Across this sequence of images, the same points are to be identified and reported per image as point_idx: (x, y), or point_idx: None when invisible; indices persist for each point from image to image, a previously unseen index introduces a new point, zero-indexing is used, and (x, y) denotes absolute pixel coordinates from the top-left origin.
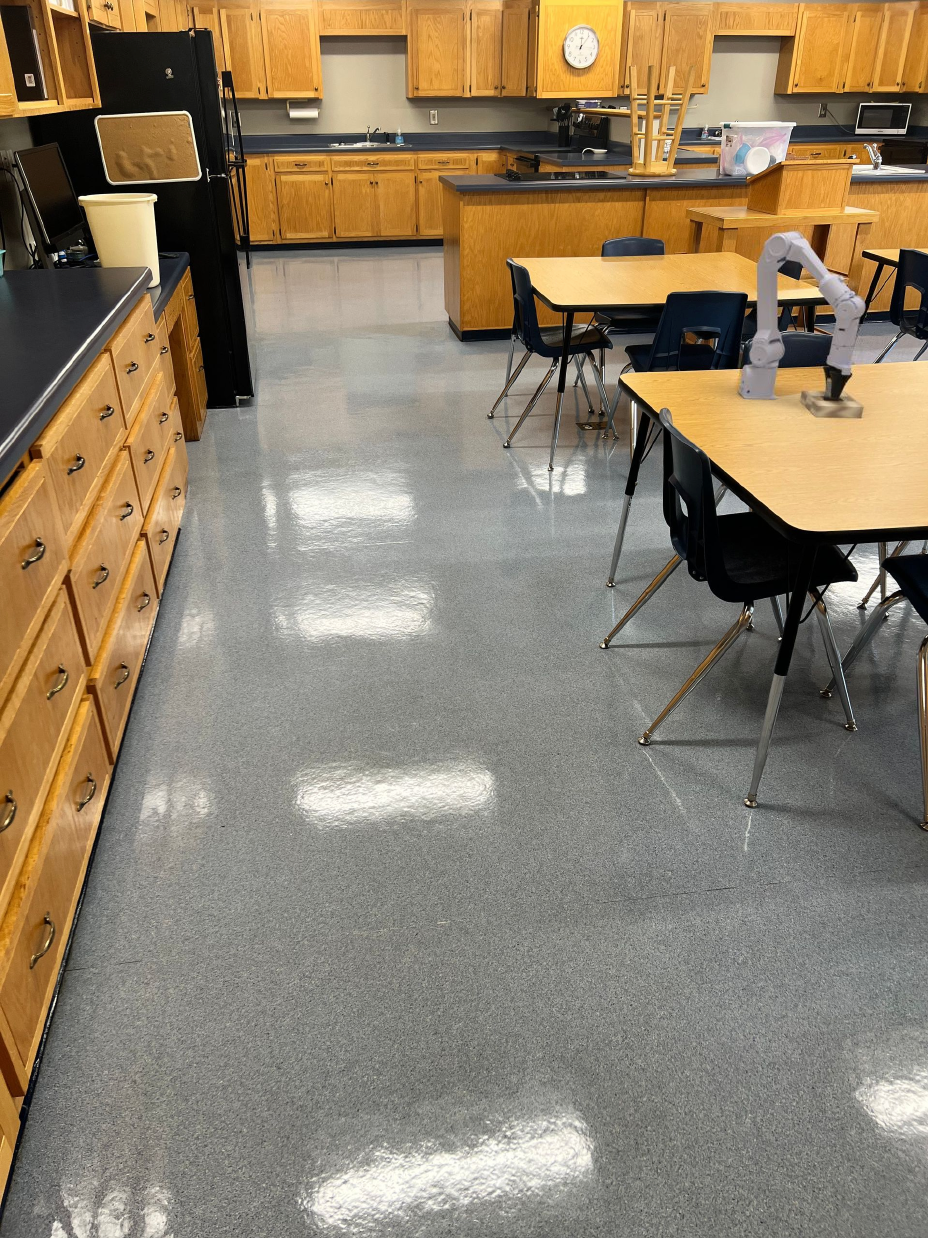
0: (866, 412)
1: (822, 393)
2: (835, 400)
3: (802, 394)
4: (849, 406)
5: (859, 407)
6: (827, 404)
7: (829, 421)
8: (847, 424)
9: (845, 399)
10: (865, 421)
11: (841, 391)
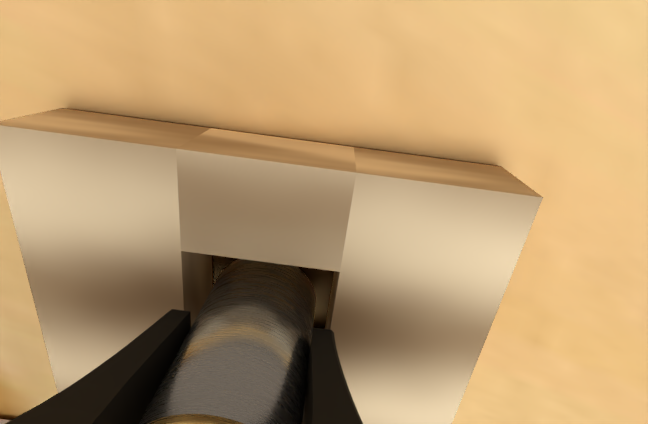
0: (342, 37)
1: (111, 325)
2: (311, 320)
3: None
4: (498, 300)
5: (526, 226)
6: (413, 403)
7: (504, 361)
8: (591, 301)
9: (283, 239)
10: (571, 165)
11: (341, 370)
